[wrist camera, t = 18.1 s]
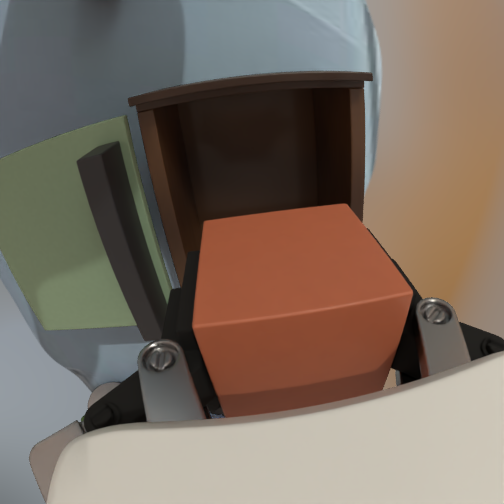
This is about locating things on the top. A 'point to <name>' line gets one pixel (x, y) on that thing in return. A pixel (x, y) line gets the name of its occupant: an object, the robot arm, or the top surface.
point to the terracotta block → (296, 309)
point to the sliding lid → (83, 232)
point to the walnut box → (252, 148)
